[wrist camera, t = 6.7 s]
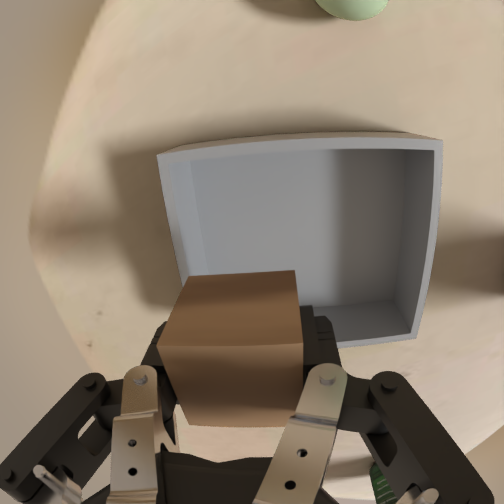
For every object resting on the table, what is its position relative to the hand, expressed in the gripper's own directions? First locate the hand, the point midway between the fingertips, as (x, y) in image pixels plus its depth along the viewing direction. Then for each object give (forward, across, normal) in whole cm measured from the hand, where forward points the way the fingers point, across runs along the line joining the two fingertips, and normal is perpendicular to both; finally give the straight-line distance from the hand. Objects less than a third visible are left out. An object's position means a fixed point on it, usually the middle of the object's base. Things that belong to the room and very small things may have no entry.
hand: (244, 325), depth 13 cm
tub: (+11, -4, 0) cm, 11 cm away
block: (+1, 0, 0) cm, 1 cm away
